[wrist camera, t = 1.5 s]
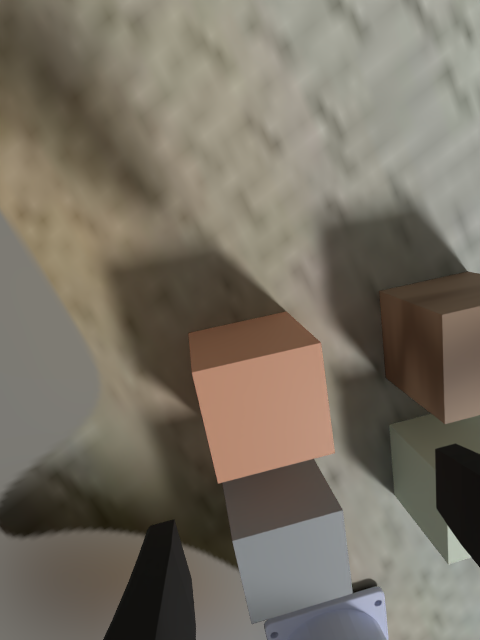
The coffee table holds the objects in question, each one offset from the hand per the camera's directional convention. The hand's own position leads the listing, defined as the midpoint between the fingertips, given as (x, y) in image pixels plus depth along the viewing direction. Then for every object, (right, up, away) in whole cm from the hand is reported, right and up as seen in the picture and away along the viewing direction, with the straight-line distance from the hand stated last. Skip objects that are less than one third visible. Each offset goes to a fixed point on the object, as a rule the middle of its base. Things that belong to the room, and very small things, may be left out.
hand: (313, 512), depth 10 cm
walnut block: (+8, +5, +11) cm, 14 cm away
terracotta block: (-2, +3, +10) cm, 10 cm away
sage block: (+9, -3, +13) cm, 16 cm away
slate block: (0, -5, +12) cm, 13 cm away
